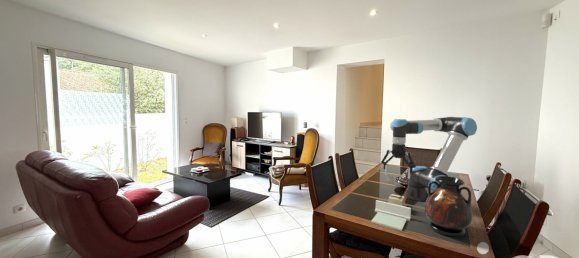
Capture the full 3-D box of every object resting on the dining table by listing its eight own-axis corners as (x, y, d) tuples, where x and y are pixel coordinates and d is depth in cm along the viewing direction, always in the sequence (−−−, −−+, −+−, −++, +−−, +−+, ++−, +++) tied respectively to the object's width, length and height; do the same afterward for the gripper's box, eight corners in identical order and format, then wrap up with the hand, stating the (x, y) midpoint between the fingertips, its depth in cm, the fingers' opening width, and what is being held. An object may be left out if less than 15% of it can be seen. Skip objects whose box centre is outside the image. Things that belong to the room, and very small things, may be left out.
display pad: (378, 213, 145) (378, 211, 145) (406, 220, 136) (406, 219, 136) (371, 222, 134) (371, 220, 134) (401, 231, 125) (401, 229, 125)
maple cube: (390, 205, 157) (391, 193, 157) (403, 208, 153) (404, 196, 152) (387, 209, 151) (388, 197, 150) (401, 212, 146) (402, 200, 145)
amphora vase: (473, 228, 127) (477, 178, 124) (469, 246, 111) (473, 189, 108) (428, 216, 141) (430, 171, 139) (418, 230, 125) (421, 179, 123)
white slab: (376, 209, 150) (376, 200, 150) (410, 218, 139) (411, 208, 138) (374, 211, 148) (375, 201, 147) (409, 220, 136) (410, 209, 136)
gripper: (376, 142, 152) (375, 174, 154) (420, 146, 137) (418, 181, 139) (380, 141, 158) (378, 171, 160) (422, 144, 144) (420, 178, 145)
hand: (397, 176), depth 150 cm, fingers open, 13 cm apart
